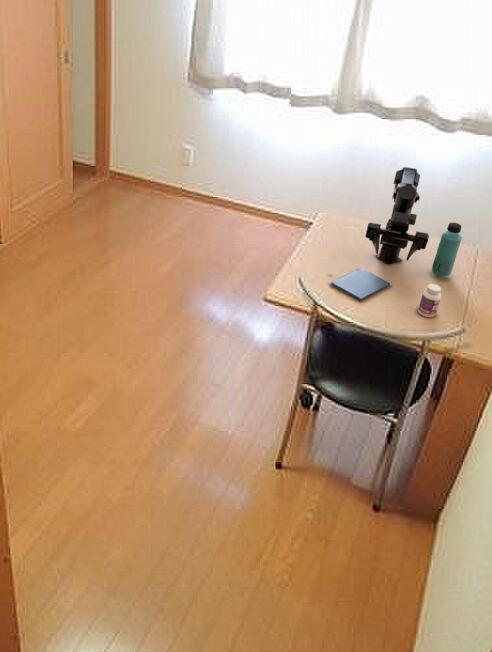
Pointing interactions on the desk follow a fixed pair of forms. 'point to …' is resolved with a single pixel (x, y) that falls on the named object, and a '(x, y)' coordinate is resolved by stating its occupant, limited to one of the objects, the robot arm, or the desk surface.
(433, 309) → the pill bottle
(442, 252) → the beverage bottle
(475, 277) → the desk surface
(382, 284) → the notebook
